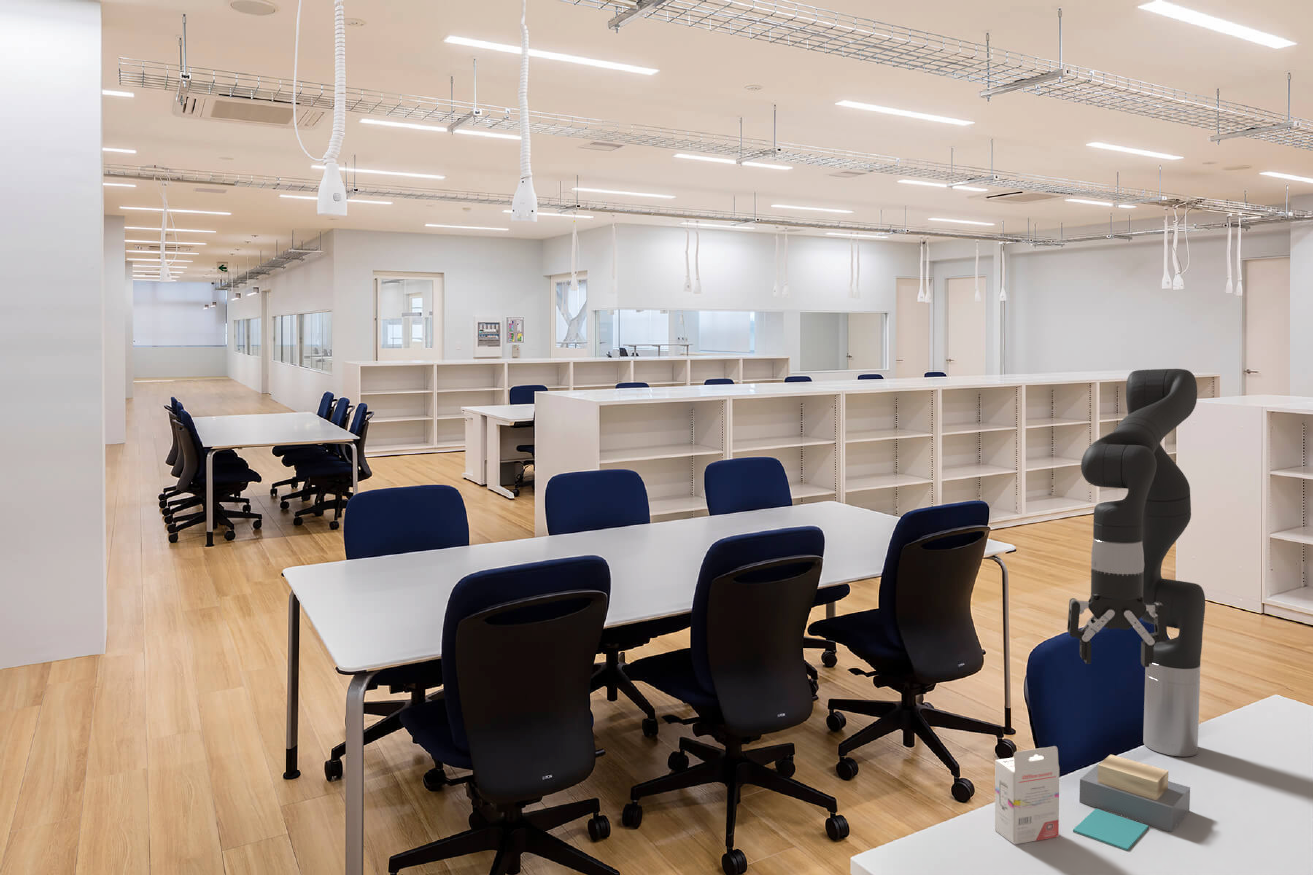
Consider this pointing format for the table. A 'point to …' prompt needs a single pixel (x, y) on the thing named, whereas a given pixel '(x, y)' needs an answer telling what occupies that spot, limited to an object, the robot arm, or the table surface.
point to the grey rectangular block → (1137, 802)
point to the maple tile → (1133, 776)
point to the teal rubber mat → (1111, 829)
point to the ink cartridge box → (1027, 795)
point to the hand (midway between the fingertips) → (1115, 663)
